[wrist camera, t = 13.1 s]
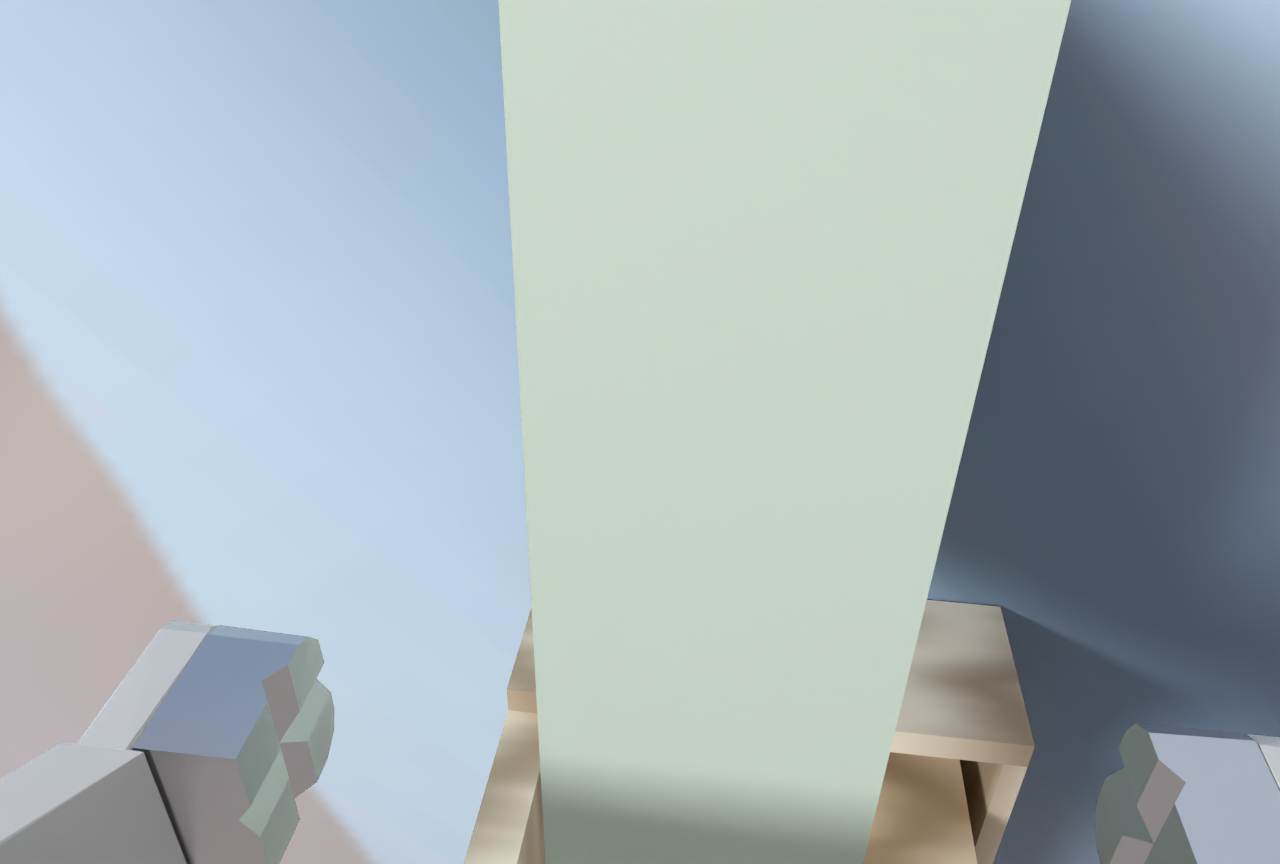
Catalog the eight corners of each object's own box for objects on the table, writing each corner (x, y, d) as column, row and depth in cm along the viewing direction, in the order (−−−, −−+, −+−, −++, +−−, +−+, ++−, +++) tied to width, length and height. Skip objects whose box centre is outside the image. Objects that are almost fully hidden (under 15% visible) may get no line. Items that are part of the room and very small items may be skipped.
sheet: (878, -172, 19) (1072, -7, 6) (798, 438, 27) (808, 1091, 14) (693, -177, 20) (496, -32, 6) (668, 427, 27) (555, 1055, 14)
